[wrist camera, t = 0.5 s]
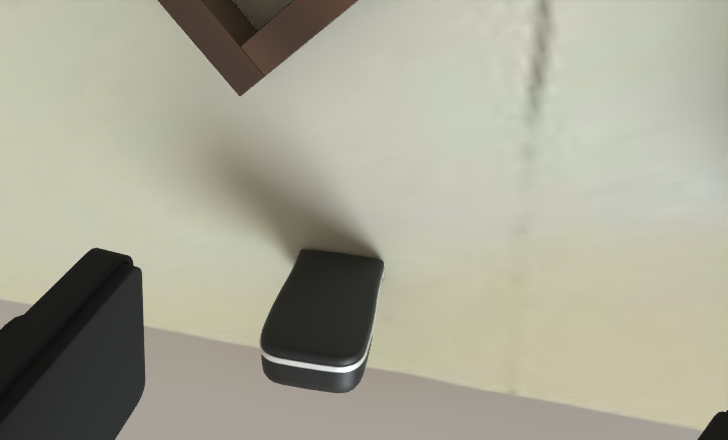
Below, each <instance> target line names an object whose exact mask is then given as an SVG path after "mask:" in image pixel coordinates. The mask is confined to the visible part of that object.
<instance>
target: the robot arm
mask: <svg viewBox="0 0 728 440" xmlns="http://www.w3.org/2000/svg"><path fill="white" fill-rule="evenodd" d="M144 386H145V358H144V325H143V292H142V272H141V269H140V268H138V267H135V266H134V265H133V260H132V258H131V257H130V256H128V255H124V254H120V253H116V252H112V251H108V250H103V249H99V248H93V249H91V250H90V251H88V252H87V253H86V254H85V255H84V256H83V257H82V258H81V259H80V260H79V261H78V262H77V263H76V264H75V265H74V266H73V267H72V268H71V269H70V270H69V271H68V272H67V273H66V274H65V275H64V276H63V277H62V278H61V279H60V280H59V281H58V282H57V283H56V284H55V285H54V286H53V287H52V288H51V289H50V290H49V291H48V292H46V293H45V294H44V295H43V296H42V297H41V298H40V299H39V300H38V301H37V302H36V303H35V304H34V305H33V306H32V307H31V308H30V309H29V310H28V311H27V312H26V313H25V314H24V315H21V316H18V317H15V318H14V319H12V320H11V321H10V322H8V323H7V324H6V325H5V326H4V327H3V328H2V329H1V330H0V440H115V438H116V437H117V435H118V434H119V432H120V431H121V429H122V427H123V426H124V425H125V423H126V421H127V420H128V418H129V417H130V415H131V413H132V412H133V410H134V409H135V407H136V406H137V404H138V402H139V400H140V398H141V396H142V393H143V390H144ZM698 440H728V410H727V411H726V412H719V413H717V414H716V415H715V416H714V417H713V419H712V420H711V422H710V423H709V424H708V426H707V427H706V429H705V430H704V431H703V433H702V434H701V436H700V437H699V438H698Z"/></svg>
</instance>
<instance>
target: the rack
mask: <svg viewBox="0 0 728 440" xmlns="http://www.w3.org/2000/svg"><path fill="white" fill-rule="evenodd" d="M158 1H159V2H160V4H161V5H162V6H163V7H164V8H165V9H166V11H167V12H168V13H169V14H170V15H171V17H172V18H173V19H174V20H175V21H176V22H177V24H178V25H179V26H180V27H181V28H182V29H183V31H184V32H185V33H186V34H187V35H188V36H189V38H190V39H191V40H192V41H193V42H194V43H195V45H196V46H197V47H198V48H199V49H200V50H201V52H202V53H203V54H204V55H205V56H206V57H207V59H208V60H209V61H210V62H211V63H212V64H213V66H214V67H215V68H216V69H217V70H218V72H219V73H220V74H221V75H222V76H223V77H224V79H225V80H226V81H227V82H228V83H229V84H230V86H231V87H232V88H233V89H234V90H235V91H236V93H237V94H238V95H239V96H242V95H243V94H244V93H245V92H246V91H248V90H249V89H250V88H251V87H253V86H254V85H255V84H256V83H258V82H259V81H260V80H261V79H262V78H264V77H265V76H266V75H267V74H269V73H270V72H271V71H272V70H273V69H275V68H276V67H277V66H278V65H280V64H281V63H282V62H283V61H285V60H286V59H287V58H288V57H289V56H291V55H292V54H293V53H294V52H296V51H297V50H298V49H299V48H301V47H302V46H303V45H304V44H305V43H307V42H308V41H309V40H310V39H312V38H313V37H314V36H315V35H316V34H318V33H319V32H320V31H321V30H323V29H324V28H325V27H326V26H328V25H329V24H330V23H331V22H332V21H334V20H335V19H336V18H337V17H339V16H340V15H341V14H342V13H343V12H345V11H346V10H347V9H348V8H350V7H351V6H352V5H353V4H355V3H356V2H357V1H358V0H293V1H292V2H291V3H290V4H289V5H288V6H286V7H285V8H284V9H283V10H282V11H281V12H280V13H278V14H277V15H276V16H275V17H274V18H273V19H271V20H270V21H269V22H268V23H267V24H266V25H265V26H263V27H262V28H261V29H260V30H259V31H258V32H257V31H256V30H255V28H254V27H253V26H252V25H251V24H250V22H249V21H248V20H247V19H246V17H245V16H244V15H243V14H242V12H241V11H240V10H239V9H238V7H237V6H236V5H235V4H234V3H233V1H232V0H158Z"/></svg>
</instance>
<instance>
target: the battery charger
mask: <svg viewBox="0 0 728 440" xmlns="http://www.w3.org/2000/svg"><path fill="white" fill-rule="evenodd" d="M384 273H385V267H384V262H383V261H382V260H379V259H373V258H367V257H360V256H353V255H346V254H339V253H331V252H323V251H314V250H305V249H303V250H301V251H300V253H299V255H298V258H297V260H296V262H295V264H294V267H293V269H292V271H291V273H290V275H289V277H288V278H287V280H286V282H285V283H284V285H283V287H282V289H281V291H280V293H279V294H278V296H277V298H276V300H275V302H274V304H273V306H272V308H271V310H270V312H269V315H268V317H267V319H266V322H265V324H264V326H263V329H262V333H261V336H260V341H259V345H260V351H261V355H262V365H263V371H264V373H265V375H266V376H267V377H268V378H269V379H270V380H271V381H273V382H275V383H279V384H282V385H288V386H293V387H299V388H305V389H311V390H318V391H325V392H333V393H345V392H349V391H351V390H353V389H354V388H355V387H356V386H357V385H358V384H359V382H360V381H361V378H362V376H363V373H364V370H365V366H366V363H367V359H368V355H369V350H370V346H371V341H372V334H373V328H374V323H375V317H376V311H377V304H378V296H379V291H380V287H381V284H382V280H383V276H384Z"/></svg>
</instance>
